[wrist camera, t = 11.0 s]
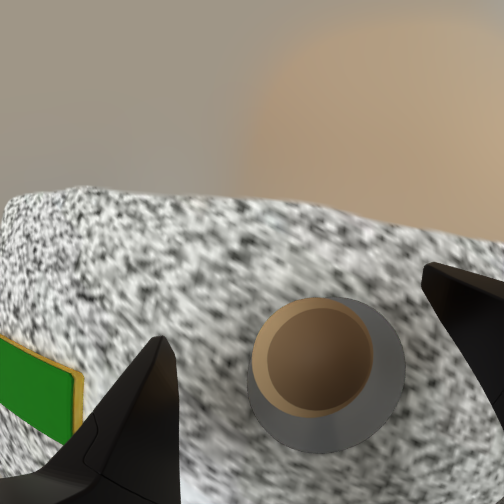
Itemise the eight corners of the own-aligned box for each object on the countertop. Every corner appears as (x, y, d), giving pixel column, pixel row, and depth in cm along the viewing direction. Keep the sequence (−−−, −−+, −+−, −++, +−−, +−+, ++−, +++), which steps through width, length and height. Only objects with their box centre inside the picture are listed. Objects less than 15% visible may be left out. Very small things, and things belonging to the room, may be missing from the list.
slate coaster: (301, 477, 16) (301, 479, 15) (215, 354, 19) (214, 354, 19) (425, 387, 17) (428, 387, 17) (351, 268, 21) (352, 266, 20)
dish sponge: (85, 443, 17) (70, 449, 15) (0, 391, 18) (-15, 391, 16) (87, 373, 19) (70, 375, 17) (2, 333, 20) (-13, 330, 18)
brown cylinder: (263, 385, 18) (261, 436, 7) (254, 328, 19) (240, 304, 8) (322, 374, 18) (392, 404, 7) (312, 318, 19) (370, 280, 8)
